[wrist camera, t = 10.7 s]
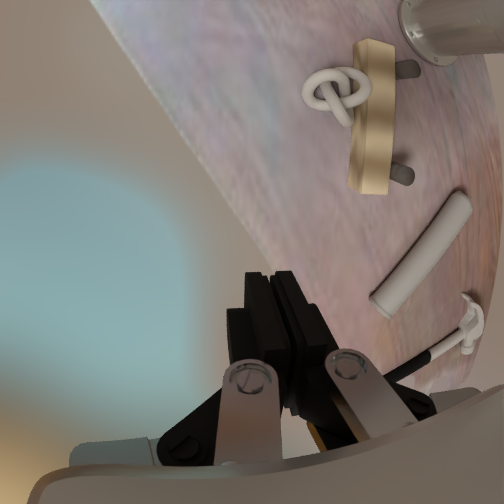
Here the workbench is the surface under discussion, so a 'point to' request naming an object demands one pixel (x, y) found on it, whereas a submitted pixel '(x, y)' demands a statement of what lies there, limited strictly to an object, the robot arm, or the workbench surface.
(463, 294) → the claw hammer
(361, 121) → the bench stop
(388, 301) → the tube
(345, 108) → the knot
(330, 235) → the workbench surface
